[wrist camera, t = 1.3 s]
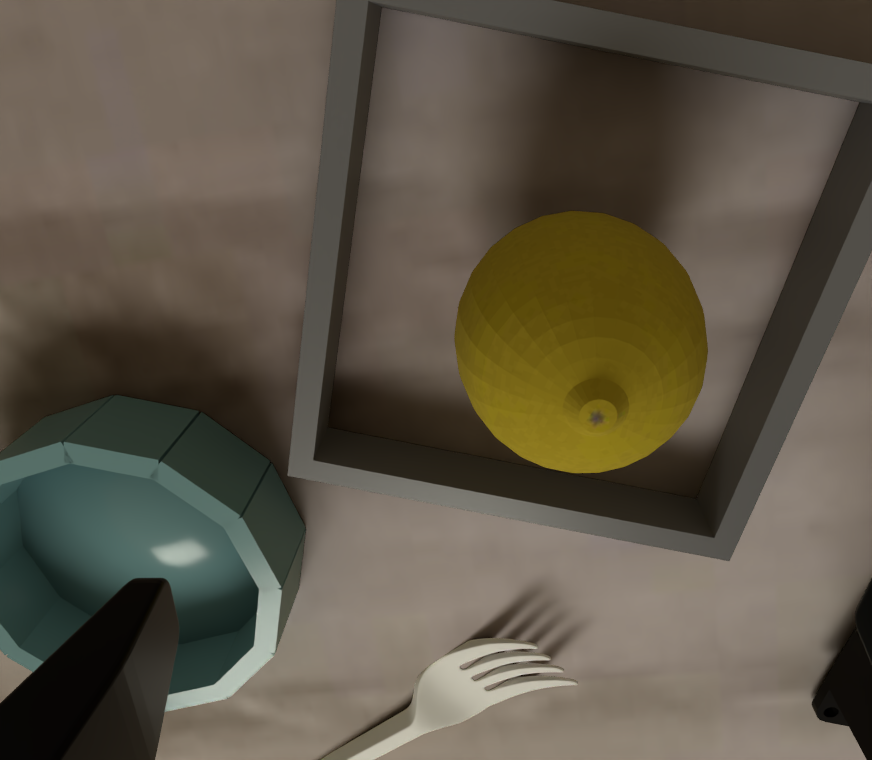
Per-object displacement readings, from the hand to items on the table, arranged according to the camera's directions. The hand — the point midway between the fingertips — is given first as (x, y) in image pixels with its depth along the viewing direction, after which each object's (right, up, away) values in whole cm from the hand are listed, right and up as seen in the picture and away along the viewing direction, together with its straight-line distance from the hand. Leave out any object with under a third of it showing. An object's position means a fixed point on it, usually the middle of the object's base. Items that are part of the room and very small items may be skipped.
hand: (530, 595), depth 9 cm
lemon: (+2, +5, +11) cm, 12 cm away
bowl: (-11, -3, +16) cm, 19 cm away
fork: (-4, -12, +20) cm, 24 cm away
